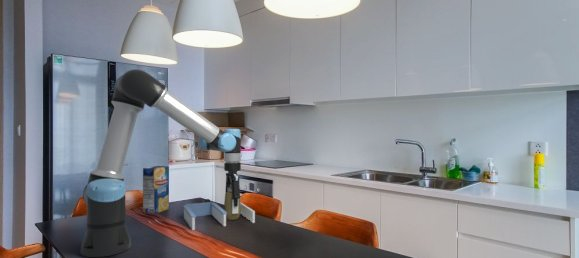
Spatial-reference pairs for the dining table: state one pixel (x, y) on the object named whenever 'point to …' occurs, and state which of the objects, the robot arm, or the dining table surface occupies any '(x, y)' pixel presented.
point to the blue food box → (155, 189)
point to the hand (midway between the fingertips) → (232, 211)
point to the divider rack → (212, 212)
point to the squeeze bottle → (229, 205)
